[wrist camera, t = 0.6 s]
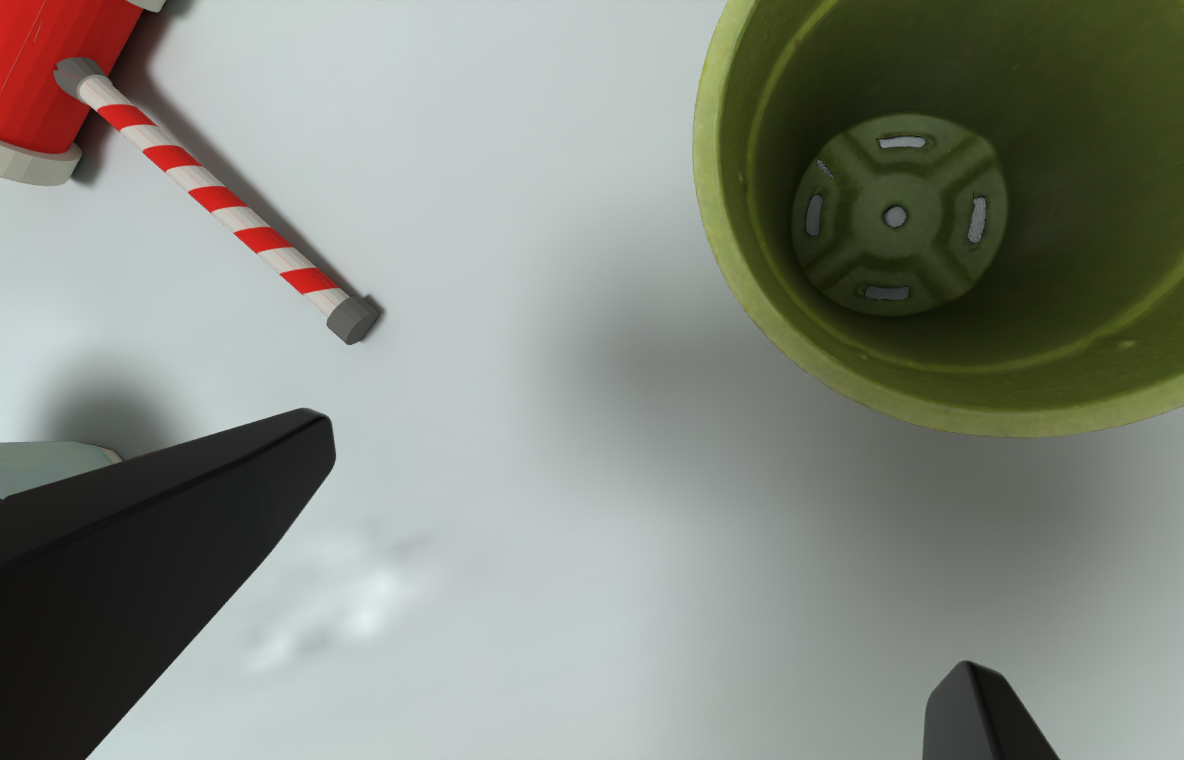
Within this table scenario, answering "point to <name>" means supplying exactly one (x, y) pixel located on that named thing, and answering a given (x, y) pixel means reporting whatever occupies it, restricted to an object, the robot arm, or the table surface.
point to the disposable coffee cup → (47, 463)
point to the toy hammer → (122, 129)
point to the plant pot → (957, 202)
